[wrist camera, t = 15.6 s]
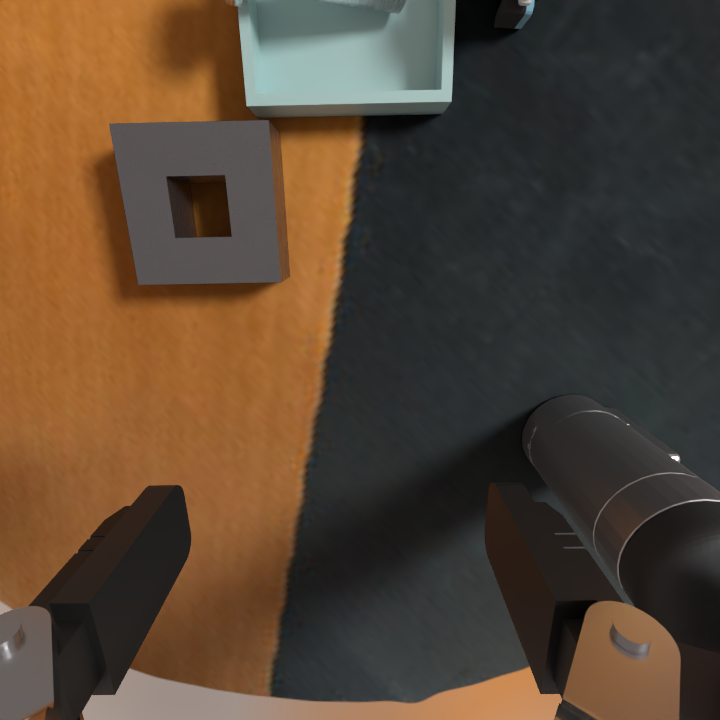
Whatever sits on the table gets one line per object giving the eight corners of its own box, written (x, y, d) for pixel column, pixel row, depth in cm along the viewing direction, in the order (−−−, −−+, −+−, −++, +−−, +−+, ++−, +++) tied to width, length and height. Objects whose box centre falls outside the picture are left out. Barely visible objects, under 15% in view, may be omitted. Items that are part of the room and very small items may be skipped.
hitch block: (279, 133, 35) (268, 120, 31) (289, 276, 39) (280, 282, 34) (140, 136, 35) (109, 123, 31) (163, 278, 39) (138, 284, 34)
